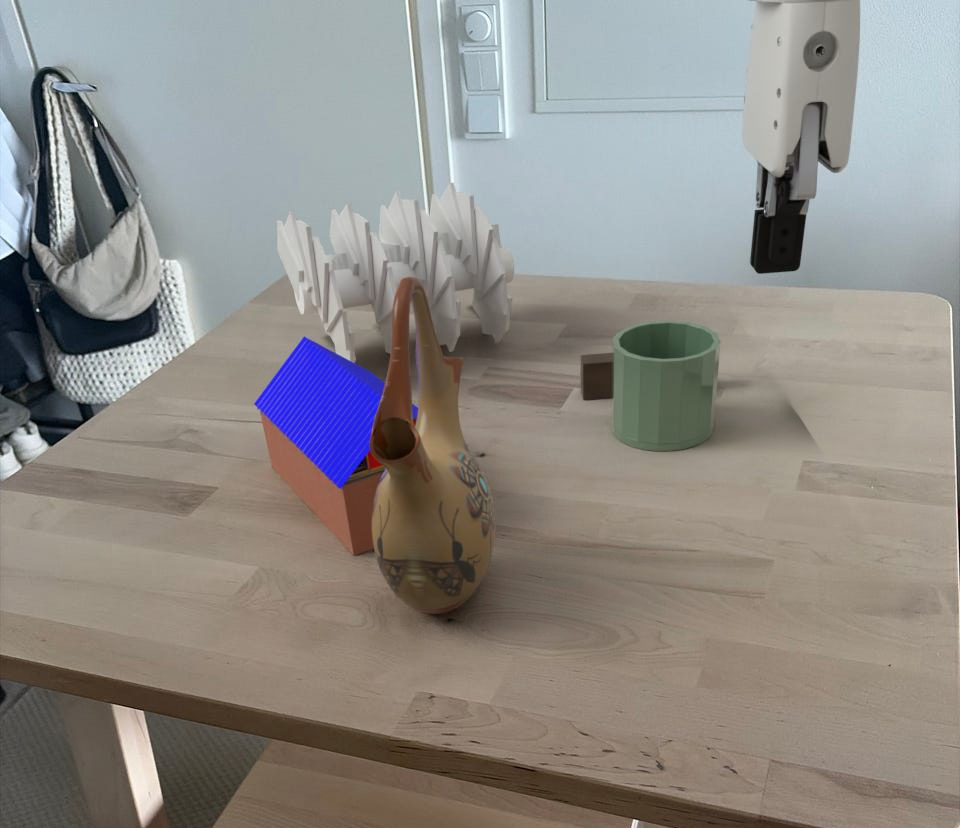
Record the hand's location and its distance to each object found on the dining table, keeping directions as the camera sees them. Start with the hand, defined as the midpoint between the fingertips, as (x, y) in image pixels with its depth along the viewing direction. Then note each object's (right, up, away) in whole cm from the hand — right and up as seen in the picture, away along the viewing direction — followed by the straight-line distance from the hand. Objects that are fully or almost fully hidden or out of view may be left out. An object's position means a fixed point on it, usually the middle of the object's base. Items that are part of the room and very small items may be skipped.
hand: (774, 268), depth 74 cm
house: (-32, -13, +21) cm, 41 cm away
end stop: (-3, -1, +34) cm, 34 cm away
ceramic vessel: (-24, -24, +7) cm, 35 cm away
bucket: (-3, -6, +27) cm, 28 cm away
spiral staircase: (-29, +7, +47) cm, 55 cm away
